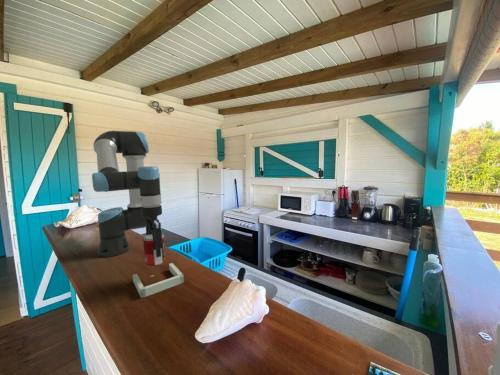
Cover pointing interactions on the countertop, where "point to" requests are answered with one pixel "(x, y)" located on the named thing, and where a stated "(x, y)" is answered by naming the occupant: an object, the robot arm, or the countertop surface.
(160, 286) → the bay
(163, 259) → the canned food
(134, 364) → the countertop surface
